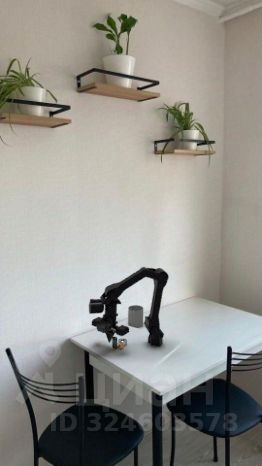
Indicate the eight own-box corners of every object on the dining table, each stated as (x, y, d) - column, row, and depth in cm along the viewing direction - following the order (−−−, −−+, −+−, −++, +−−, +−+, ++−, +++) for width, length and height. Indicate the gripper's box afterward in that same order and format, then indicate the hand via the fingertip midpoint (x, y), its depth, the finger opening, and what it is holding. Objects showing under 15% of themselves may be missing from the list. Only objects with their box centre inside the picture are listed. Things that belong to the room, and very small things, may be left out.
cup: (141, 328, 215) (141, 311, 213) (126, 327, 216) (127, 310, 214) (144, 322, 223) (144, 305, 221) (129, 321, 224) (130, 304, 222)
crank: (121, 341, 196) (121, 330, 195) (128, 343, 193) (129, 332, 192) (109, 349, 188) (109, 337, 187) (116, 351, 185) (116, 339, 184)
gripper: (84, 312, 184) (83, 342, 187) (116, 323, 174) (115, 355, 177) (99, 305, 193) (98, 334, 196) (130, 315, 183) (129, 346, 186)
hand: (109, 342), depth 189 cm, fingers closed
